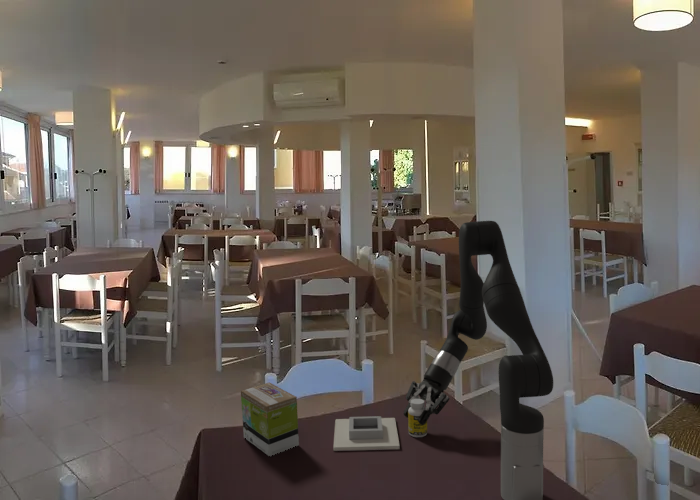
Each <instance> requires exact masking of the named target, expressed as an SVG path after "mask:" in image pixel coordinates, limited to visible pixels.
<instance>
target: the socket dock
mask: <svg viewBox="0 0 700 500" xmlns="http://www.w3.org/2000/svg"><path fill="white" fill-rule="evenodd" d="M399 440H400V439H399V435H398V429H397V422H396V418H395V417H382V416H381V415H379V416H377V415H376V416H375V415H374V416H372V415H371V416H370V415H369V416H349V418H336V419H335V422H334V435H333V451H334V452H338V451H339V452H341V451H343V452H344V451H377V450H378V451H379V450H380V451H381V450H382V451H383V450H384V451H385V450H386V451H387V450H401V449H400V441H399Z"/></svg>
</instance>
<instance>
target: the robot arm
mask: <svg viewBox="0 0 700 500" xmlns="http://www.w3.org/2000/svg"><path fill="white" fill-rule="evenodd" d="M499 225H500V224H499V223H498V222H496V221H495V220H479V221H478V220H477V221H468V222H467V221H466V222H464V223H462V224H461V225H460V227H459V231H458V254H459V255H458V258H459V259H458V261H459V272H460V273H459V275H460V290H459V300H458V301H459V303H458V305H459V306H458V307H459V310H457V311H456V312H455V313H454V314H453V316H452V319H451V321H450V322H451V323H450V327H449V331H448V333H447V337H446V339H445V341H444V343H443V344H442V346H441V348H440V350H439V351H438V353H437V354H436V355H434V358H433V360H432V361H431V363H430V365H429V366H428V368H427V369H426V371H425V372H424V374H423V380H422V381H421V382H420V383H419V382H416V381H415V380H414V381H412V382H411V383H410V386H409V388H408V391H407V393H406V395H405V399H406V400H407V402H408V404H407V405H406V407H405V409H404V410H403V416H404V417H405V418H407V419H408V410H409V408H410V407H411V405H410V402H411V400H412V399H422V400H424V401H425V410H424V411H423V412H422V414H421V416H420V417H419V419H418V422H419V423H420V424H421V425H424V424H425V423H426V422H427V423H428V420H429V418H430V416H431V415H434V414H435V415H436V416H437V415H439V414H440V413H441V411H442V410H443V409H444V407H445V406H446V405H447V403H449V401H450V397H449V396H448V395H447V394H446V393H445V392H444V391H446V390H447V389H448V387H449V386H450V384H451V382H452V380H453V379H454V377H455V375H456V374H457V372H458V370H459V367H460V364H461V363H462V362H463V359H464V358H465V356H466V354H467V353H468V351H469V346H468V344H467V343H466V342H465V341H463V340H462V339H461V338H460V337H459V334H461V335H462V336H465V337H467V338H470V339H471V340H476V341H477V340H480V339H482V338H483V337H484V336H485V334H486V333H487V330H488V322H487V321H488V320H487V316H488V317H489V319H490V321H491V322H492V323H493V324H494V325H495V326H496V327H497V328H498V329H500V331H502V332H503V333H504V334H505V335H507V336H508V337H509V338H510V339H511V340H512V341H513V342H514V343H515V344H516V346H517V347H518V349H519V350H520V352H521V354H516V355H504V356H503V357H502V358H500V361H499V364H498V385H499V386H498V387H499V388H498V390H499V410H500V496H501V498H502V499H503V500H543V499H544V497H543V496H544V433H545V432H544V431H545V430H544V427H545V421H544V420H545V418H544V414H543V413H542V412H541V411H540V410H538V409H536V408H535V407H532V406H529V405H526V404H523V403H521V402H520V398H534V397H545V396H548V395H550V394H551V393H552V391H553V390H554V377H553V371H552V367H551V365H550V362H549V360H548V357H547V355H546V353H545V351H544V349H543V347H542V345H541V343H540V341H539V338H538V336H537V334H536V331H535V329H534V326H533V324H532V321H531V319H530V316H529V313H528V311H527V308H526V303H525V300H524V299H523V296H522V292H521V289H520V287H519V285H518V282H517V279H516V276H515V273H514V271H513V268H512V265H511V263H510V259H509V255H508V252H507V248H506V243H505V240H504V236H503V233H502V229H501V227H500V226H499ZM486 255H489V256H491V258H492V264H491V267H490V269H489V272H488V274H487V275H486V277H485V280H483V279H482V277H481V276H480V274H479V272H478V271H477V270H476V269H475V267H474V265H473V262H472V256H475V257H476V256H486ZM484 307H485V308H484ZM485 310H486V311H485ZM486 313H487V316H486Z"/></svg>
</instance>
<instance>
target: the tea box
mask: <svg viewBox="0 0 700 500" xmlns="http://www.w3.org/2000/svg"><path fill="white" fill-rule="evenodd" d="M297 398H298V397H297V396H295V395H294V394H292V393H290V392H288V391H286V390H285V389H283V388H281V387H278V386H277V385H275V384H274V383H272V382H267V383H263V384H259V385H258V386H256V385H255V386H253V387H250V388H247V389H244V390H240V402H241V413H242V414H241V415H242V418H241V419H242V430H243V432H242V433H243V438H244V439H245V438H246V441H248V442H249V443H251V444H252V445H253V446H255V447H256V448H257V449H259V450H260V451H261V452H263V453H264V454H266V456H267V457H269V456H270V457H272V455H273V456H275V454H276V455H278V454H281V453H283V452H286V451H288V449H289V450H291V449H293V447H294V448H296V447H298V446H299V445H300V442H299V441H300V438H299V421H298V420H299V419H298V417H299V416H298V399H297ZM295 446H296V447H295ZM290 448H291V449H290ZM285 450H286V451H285ZM280 452H281V453H280ZM277 453H278V454H277Z"/></svg>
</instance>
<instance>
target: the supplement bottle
mask: <svg viewBox="0 0 700 500" xmlns="http://www.w3.org/2000/svg"><path fill="white" fill-rule="evenodd" d="M410 405H411V407H410V408H409V410H408V418H407V419H408V421H407V422H408V424H407V426H408V435H409V436H411V437H414V438H423V437H425V436H427V434H428V421H427V422H426V423H425V424H424V425H421V424H420V423H419V422H418V419H419V417H420V416H421V414H422V412H423V411H424V410H425V408H426V402H425V400H422V399H412V400H411V402H410Z"/></svg>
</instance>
